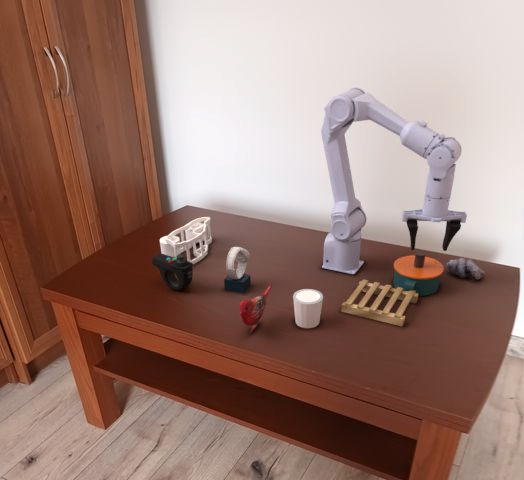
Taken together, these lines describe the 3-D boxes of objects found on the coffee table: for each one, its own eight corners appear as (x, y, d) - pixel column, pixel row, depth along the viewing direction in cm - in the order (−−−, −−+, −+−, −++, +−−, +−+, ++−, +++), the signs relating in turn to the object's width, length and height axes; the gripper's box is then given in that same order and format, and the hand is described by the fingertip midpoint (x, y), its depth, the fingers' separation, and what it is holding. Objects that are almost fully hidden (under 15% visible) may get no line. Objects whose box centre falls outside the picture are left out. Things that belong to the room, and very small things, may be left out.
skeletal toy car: (197, 236, 165) (195, 213, 160) (226, 243, 160) (224, 220, 155) (154, 261, 151) (150, 237, 147) (183, 270, 146) (180, 246, 142)
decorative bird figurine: (235, 343, 118) (233, 304, 112) (267, 304, 131) (266, 268, 125) (247, 345, 117) (245, 307, 111) (277, 306, 130) (277, 270, 124)
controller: (187, 297, 135) (182, 261, 129) (153, 284, 141) (147, 249, 135) (198, 290, 137) (194, 255, 132) (164, 277, 143) (159, 243, 138)
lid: (387, 275, 132) (389, 259, 129) (401, 255, 141) (403, 240, 138) (436, 285, 127) (439, 269, 125) (447, 264, 136) (451, 248, 133)
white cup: (313, 332, 120) (314, 306, 116) (287, 324, 123) (287, 298, 119) (327, 318, 125) (328, 292, 121) (301, 311, 128) (301, 285, 124)
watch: (253, 282, 140) (252, 243, 134) (241, 296, 134) (239, 257, 128) (234, 278, 142) (232, 240, 135) (221, 292, 136) (218, 253, 129)
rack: (341, 311, 127) (341, 302, 126) (359, 287, 136) (360, 278, 135) (402, 326, 121) (403, 317, 120) (417, 300, 130) (419, 291, 129)
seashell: (482, 283, 139) (444, 276, 143) (488, 263, 138) (449, 257, 143) (481, 279, 134) (441, 272, 138) (487, 258, 134) (447, 252, 138)
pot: (384, 294, 133) (386, 277, 130) (403, 267, 145) (405, 250, 142) (429, 304, 129) (432, 287, 126) (444, 275, 140) (448, 258, 137)
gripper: (407, 200, 120) (399, 255, 128) (473, 201, 118) (461, 256, 126) (404, 189, 125) (397, 242, 133) (467, 190, 124) (456, 244, 132)
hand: (428, 248), depth 130 cm, fingers open, 7 cm apart
